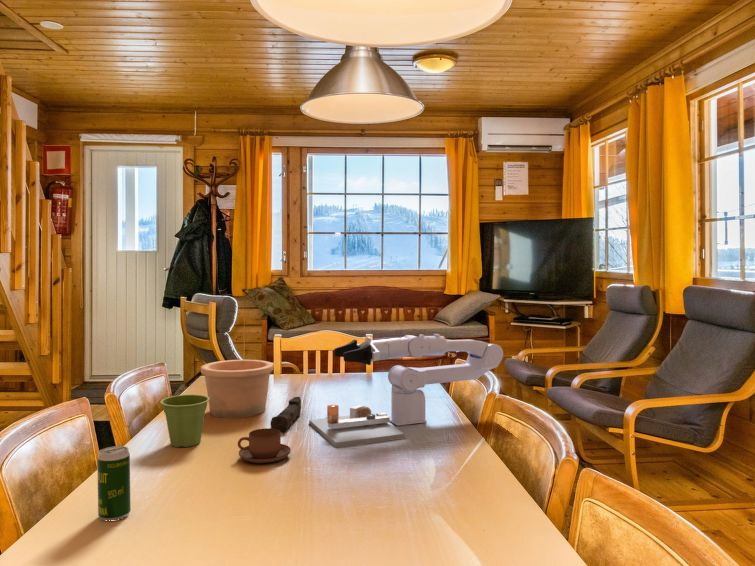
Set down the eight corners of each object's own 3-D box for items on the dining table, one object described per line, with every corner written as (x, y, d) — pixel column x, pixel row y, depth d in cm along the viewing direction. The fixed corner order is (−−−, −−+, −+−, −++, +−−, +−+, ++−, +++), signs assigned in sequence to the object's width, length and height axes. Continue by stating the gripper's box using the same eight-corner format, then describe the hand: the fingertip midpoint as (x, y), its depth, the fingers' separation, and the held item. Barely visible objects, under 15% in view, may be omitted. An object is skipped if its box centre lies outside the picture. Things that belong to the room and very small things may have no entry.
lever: (384, 418, 167) (384, 397, 167) (391, 423, 163) (391, 401, 163) (323, 425, 160) (323, 403, 160) (329, 430, 156) (329, 407, 156)
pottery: (221, 425, 167) (221, 374, 167) (189, 410, 184) (188, 364, 183) (287, 412, 182) (286, 365, 181) (251, 399, 198) (251, 357, 198)
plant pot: (150, 447, 146) (149, 402, 146) (181, 434, 157) (181, 393, 157) (190, 453, 142) (189, 406, 142) (219, 439, 153) (219, 396, 153)
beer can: (121, 507, 111) (121, 443, 110) (136, 515, 107) (135, 449, 107) (92, 516, 106) (91, 450, 106) (106, 525, 103) (105, 457, 103)
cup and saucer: (246, 470, 131) (246, 443, 130) (233, 455, 141) (232, 429, 141) (297, 462, 136) (297, 435, 136) (281, 447, 147) (281, 423, 147)
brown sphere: (368, 417, 171) (368, 404, 171) (373, 420, 168) (373, 407, 168) (356, 418, 170) (356, 405, 169) (361, 421, 166) (361, 408, 166)
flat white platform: (370, 417, 175) (370, 402, 175) (404, 438, 154) (404, 421, 154) (309, 424, 168) (309, 408, 168) (335, 447, 147) (335, 429, 147)
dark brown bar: (287, 434, 159) (287, 413, 159) (270, 433, 160) (270, 412, 159) (309, 413, 181) (309, 395, 181) (294, 412, 182) (294, 394, 182)
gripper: (374, 332, 174) (330, 336, 169) (394, 338, 161) (347, 344, 156) (375, 355, 175) (331, 361, 169) (395, 364, 161) (348, 370, 156)
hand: (339, 354), depth 162 cm, fingers open, 7 cm apart
